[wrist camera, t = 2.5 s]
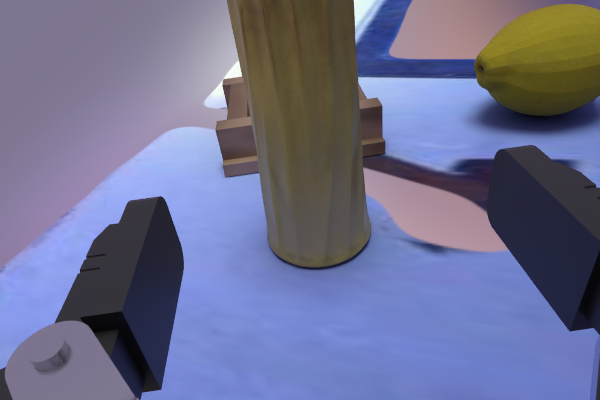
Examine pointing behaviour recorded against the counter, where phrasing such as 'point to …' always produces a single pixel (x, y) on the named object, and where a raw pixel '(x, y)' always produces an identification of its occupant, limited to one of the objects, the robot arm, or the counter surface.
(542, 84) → the lemon
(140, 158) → the counter surface
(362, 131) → the socket block
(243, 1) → the vase
